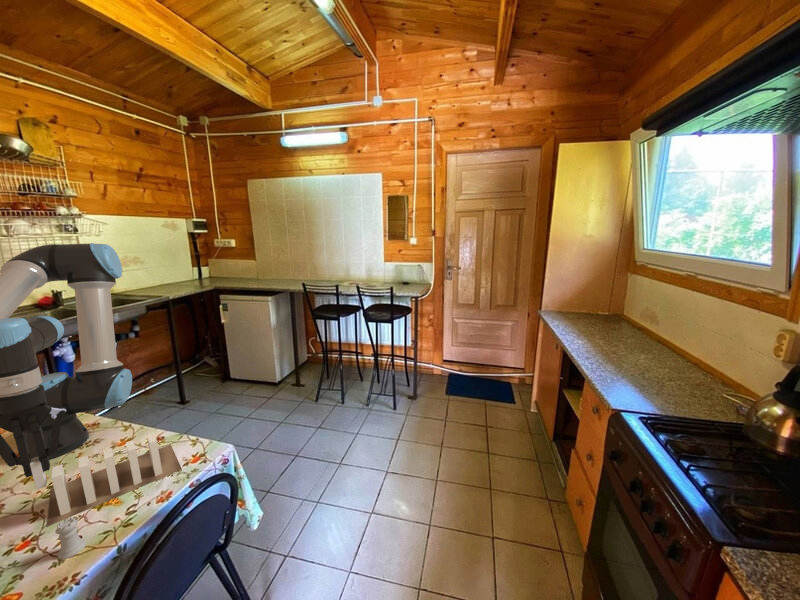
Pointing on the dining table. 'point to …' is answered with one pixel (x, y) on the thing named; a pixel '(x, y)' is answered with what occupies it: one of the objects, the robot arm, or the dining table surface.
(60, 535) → the rook chess piece
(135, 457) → the domino
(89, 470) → the domino
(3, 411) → the robot arm
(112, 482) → the domino
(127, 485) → the walnut board
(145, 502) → the dining table surface
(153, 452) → the domino
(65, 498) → the domino
